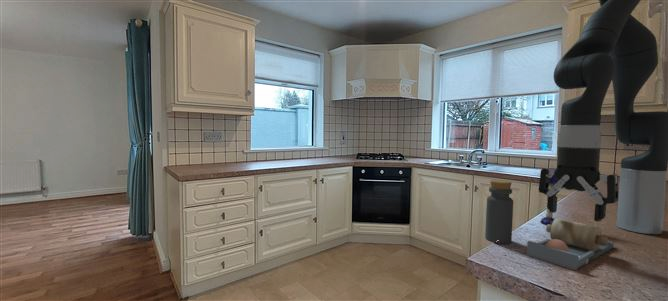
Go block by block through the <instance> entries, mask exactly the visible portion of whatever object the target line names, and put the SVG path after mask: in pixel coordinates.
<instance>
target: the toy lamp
mask: <svg viewBox="0 0 668 301" xmlns="http://www.w3.org/2000/svg"><path fill="white" fill-rule="evenodd" d="M548 168H549V167H548ZM549 169H552V170H556V168H553V167H552V168H551V167H550V168H549ZM558 181H559V180H558V179H557V178H556V176H555V175H554V174H553V176H552V177H551V178H550V181H549V189H551V188H552V187H553V186H554V185H555V184H556V183H557V182H558ZM553 216H554V213H552V212H550V211H549V209H548V208H547V207H546V213H545V217H542V218H541V219H540V223H541V224H542V225H546V226H547V225H548V224H551V225H552V223H553V221H554V220H555V219H556V218H553Z"/></svg>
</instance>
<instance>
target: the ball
mask: <svg viewBox="0 0 668 301" xmlns="http://www.w3.org/2000/svg"><path fill="white" fill-rule="evenodd" d="M546 246H549V247H553V248H557V249H560V250H564V251H567V252H568V247H567V245H566V244H565V243H564V242H563V241H561V240H558V239H550V240H549V241H548V242H547V243H546Z"/></svg>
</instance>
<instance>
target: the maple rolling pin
mask: <svg viewBox="0 0 668 301" xmlns="http://www.w3.org/2000/svg"><path fill="white" fill-rule="evenodd" d="M554 219H555V220H554V221H553V223H552V225H551V224H548V225H546V228H545V230H546V233H549V235H550V240H552V239H558V240H561V241H563V242H564V243H565V244H566V245H570V246H574V247H577V248H581V249H585V250H589V251H590V250H592V251H594V252H595V251H597V250H598V249H599V247H600V245H602V246H607V243H608V242H609V240H608V239H609V238H608V237H607V236H603V235H602V229H601V227H600V226H598V227H596V226H597V225H595V226H591V225H592V224H590V225H587V224H588V223H585V224H582V223H583V222H582V223H581V222H576V221H572V220H567V219H562V218H558V217H557V218H554Z"/></svg>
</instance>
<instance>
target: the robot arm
mask: <svg viewBox="0 0 668 301" xmlns="http://www.w3.org/2000/svg"><path fill="white" fill-rule="evenodd" d="M598 1H599V6H600V7H599V8H597V10H595V11H594V12H593V14H591V16H590V17H589V18H588V20H587V21H586V23H585V24H584V26H583V28H582V31H581V33H580V35H579V36H578V39H577V41H576V42H575V43H574V44H573V45H572V46H570V48H569V49H568V50H567V51H566V53H564V55H563V56H562V57H561V58H560V59H559V61H558V62H557V64H556V66H555V68H554V71H553V81H554V84H555V85H556V86H557V88H560V89H563V90H575V89H584V91H583V93H582V94H581V95H579V96H577V97H574V98H570V99H568V100H565V101H564V102H563V103H562V104H561V112H560V125H559V127H560V128H559V131H558V136H557V139H558V140H557V155H556V156H557V157H556V168H555V169H556V170H552V169H549V167H546V168H545V167H544V168H541V170H540V177H539V183H538V193H541V194H544V195H545V196H547V199H546V201H547V202H546V209H547V208H548V209H549V211H550V212H552V214H554V213H557V209H558V196H557V195H558V194H559V192H561V191H562V190H564V189H565V190H568V191H572V190H575V191H578V192H587V194H588V195H589V196H590V197H591V198H592V199H593V200H594V201H595V205H594V215H593V217H594V222H601V221H602V220H604V219H605V218H606V216H607V215H606V213H607V205H608V204H615V203H616V202H617V204H618V205H617V216H616V227H617V228H620V229H622V230H625V231H629V232H633V233H634V232H635V233H640V234H645V235H646V234H648V235H662V233H663V226H664V217H665V216H664V215H665V202H666V191H667V190H666V188H667V177H668V176H667V175H668V111H665V110H664V111H662V110H661V111H659V110H658V111H636V112H635V109H634V103H635V100H636V97H637V96H638V94H639V92H640V90H642V88H643V86H645V83H647V81H648V80H649V79H650V77H651V76H652V75H653V73H654V72H655V71H656V68H657V67H658V63H659V55H658V45H657V44H658V43H657V38H656V36H655V34H654V33H653V32H652V31H651V30H650V29H649V28H648V27H646V25H644V24H643V23H642V22H641V21H640V20H638V19H637V18H636V17H634V16H633V15H632V13H633V11H634V10H635V8H636V7H637V6H638V4H640V2H641V1H642V0H598ZM611 84H612V90H613V98H614V122H615V123H614V126H615V127H614V128H615V134H616V138H617V140H618V141H619V143H621V144H624V145H635V146H637V145H638V146H641V145H642V146H649V147H648V149H647V150H645V151H644V152H642V153H640V154H635V155H632V156H627V157H623V158H622V159H621V160H620V169H619V170H620V171H619V175H618V174H616V173H613V174H602V173H600V159H601V158H600V157H601V143H602V142H601V141H602V133H601V120H602V119H601V118H602V107H603V104H604V101H605V97H606V95H607V92H608V90H609V87H610V85H611ZM553 174H554V175H555V176H556V178H557V179H558V180H559V181H558V182H557V183H556V184H555V185H554V186H553V187H552V188H551V189H549V181H550V178H551V177H552V176H553ZM600 180H601V181H602V182H603V184H604V185H606V196H605V195H604V194H603V193H602V190H601V189H600V188H599V186H597V183H599V181H600Z"/></svg>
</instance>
